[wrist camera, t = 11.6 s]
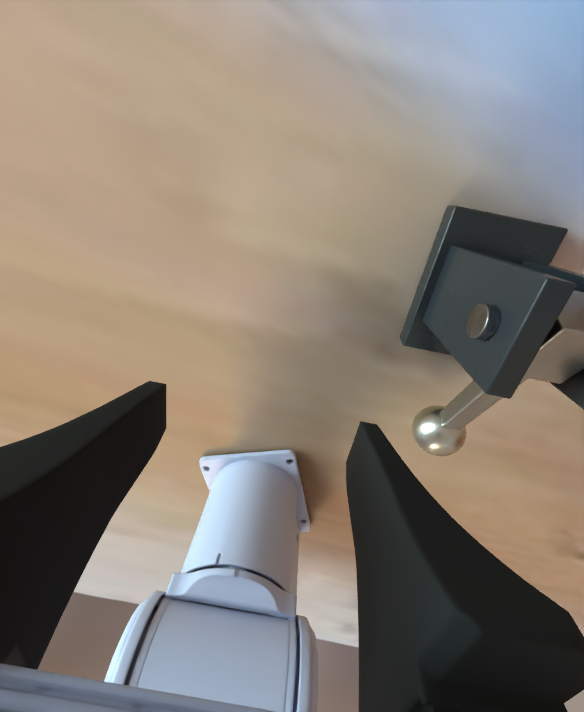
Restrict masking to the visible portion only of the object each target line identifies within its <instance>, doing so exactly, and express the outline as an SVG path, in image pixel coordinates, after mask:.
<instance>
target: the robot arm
mask: <svg viewBox="0 0 584 712" xmlns="http://www.w3.org/2000/svg"><path fill="white" fill-rule="evenodd" d="M165 429H166V384H162V383H157V382H152V381H149V382H147V383H145V384H143V385H141V386H139V387H137V388H135V389H133V390H131V391H129V392H127V393H126V394H124V395H122V396H120V397H118V398H116V399H114V400H112V401H110V402H108V403H107V404H105V405H103V406H101V407H99V408H97V409H95V410H93V411H90V412H88V413H86V414H84V415H82V416H80V417H78V418H76V419H73V420H71V421H69V422H67V423H65V424H62V425H60V426H58V427H55V428H53V429H50V430H48V431H45V432H43V433H40V434H37V435H35V436H32V437H29V438H27V439H24V440H21V441H18V442H15V443H12V444H9V445H5V446H2V447H0V712H317V701H318V652H317V642H316V637H315V634H314V632H313V630H312V628H311V627H310V625H309V622H308V620H307V618H306V617H304V616H299V615H296V602H297V595H296V594H297V575H298V555H299V536H300V533H302V532H309V531H310V530H311V524H310V520H309V515H308V510H307V506H306V501H305V496H304V492H303V487H302V482H301V478H300V473H299V468H298V464H297V459H296V454H295V452H294V451H293V450H290V449H287V450H275V451H263V452H251V453H239V454H227V455H215V456H204V457H202V458H201V459H200V461H199V465H200V468H201V470H202V473H203V475H204V478H205V481H206V483H207V486H208V488H209V491H210V494H209V497H208V499H207V502H206V505H205V508H204V510H203V513H202V516H201V519H200V521H199V524H198V527H197V530H196V532H195V535H194V538H193V541H192V543H191V546H190V549H189V552H188V554H187V557H186V560H185V563H184V565H183V568H182V571H181V573H173V576H172V578H171V581H170V583H169V586H168V589H167V591H166V592H163V591H155V592H153V593H152V594H151V595H150V596H149V597H148V598H147V599H146V600H145V601H143V602H142V603H141V604H140V605H139V606H138V607H137V609H136V610H135V612H134V613H133V615H132V617H131V619H130V620H129V623H128V624H127V626H126V628H125V631H124V633H123V635H122V637H121V639H120V641H119V644H118V646H117V648H116V651H115V653H114V656H113V658H112V661H111V663H110V666H109V669H108V672H107V675H106V678H105V680H104V681H99V680H92V679H87V678H81V677H76V676H70V675H64V674H58V673H53V672H47V671H41V670H37V669H38V667H39V664H40V662H41V660H42V658H43V655H44V653H45V651H46V649H47V646H48V644H49V642H50V640H51V638H52V635H53V634H54V631H55V629H56V627H57V625H58V622H59V620H60V618H61V616H62V614H63V612H64V610H65V608H66V606H67V604H68V602H69V600H70V597H71V595H72V593H73V591H74V589H75V587H76V585H77V583H78V581H79V579H80V577H81V575H82V573H83V571H84V569H85V567H86V565H87V563H88V561H89V559H90V557H91V555H92V553H93V551H94V549H95V548H96V546H97V544H98V542H99V540H100V538H101V536H102V534H103V533H104V531H105V529H106V527H107V525H108V523H109V521H110V520H111V518H112V516H113V515H114V513H115V511H116V510H117V508H118V506H119V505H120V503H121V502H122V500H123V499H124V497H125V496H126V494H127V493H128V491H129V490H130V488H131V487H132V485H133V484H134V482H135V481H136V479H137V478H138V476H139V475H140V473H141V472H142V470H143V469H144V467H145V466H146V464H147V463H148V461H149V460H150V458H151V457H152V455H153V454H154V452H155V450H156V448H157V446H158V444H159V442H160V440H161V438H162V436H163V434H164V432H165ZM289 460H292V461H289ZM206 466H207V467H206ZM346 484H347V496H348V503H349V511H350V518H351V525H352V532H353V539H354V546H355V555H356V567H357V590H358V625H359V712H567V709H566V708H565V705H564V703H565V702H566V701H568V700H569V699H571V698H572V697H574V696H575V695H576V694H578V693H579V692H581V691H582V690H584V637H583V635H582V633H581V632H580V630H579V628H578V627H577V625H576V623H575V622H574V620H573V618H572V617H571V615H570V614H569V612H568V611H566V610H565V609H563V608H562V607H561V606H559V605H558V604H557V603H555V602H554V601H552V600H551V599H550V598H548V597H547V596H545V595H544V594H543V593H541V592H540V591H539V590H537V589H536V588H534V587H533V586H532V585H530V584H529V583H528V582H526V581H525V580H524V579H522V578H521V577H520V576H518V575H517V574H516V573H515V572H513V571H512V570H511V569H510V568H508V567H507V566H506V565H505V564H503V563H502V562H501V561H500V560H498V559H497V558H496V557H495V556H494V555H493V554H491V553H490V552H489V551H488V550H487V549H485V548H484V547H483V546H482V545H481V544H480V543H479V542H478V541H477V540H475V539H474V538H473V537H472V536H471V535H470V534H469V533H468V532H467V531H466V530H464V529H463V528H462V527H461V526H460V525H459V524H458V523H457V522H456V521H455V520H454V519H453V518H452V517H451V516H450V515H449V514H448V513H447V512H446V511H445V510H444V509H443V508H442V507H441V506H440V505H439V503H438V502H437V501H436V500H435V499H434V498H433V497H432V496H431V495H430V494H429V492H428V491H427V490H426V489H425V488H424V487H423V485H422V484H421V483H420V482H419V481H418V479H417V478H416V477H415V476H414V474H413V473H412V472H411V471H410V469H409V468H408V467H407V465H406V464H405V463H404V461H403V460H402V459H401V457H400V456H399V455H398V453H397V452H396V451H395V449H394V448H393V446H392V445H391V444H390V442H389V441H388V439H387V438H386V436H385V435H384V434H383V432H382V431H381V429H380V428H379V427H378V425H377V424H371V423H366V422H360V425H359V427H358V430H357V433H356V436H355V439H354V442H353V444H352V447H351V450H350V453H349V456H348V459H347V462H346Z"/></svg>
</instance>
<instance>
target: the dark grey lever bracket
mask: <svg viewBox="0 0 584 712" xmlns="http://www.w3.org/2000/svg"><path fill="white" fill-rule="evenodd" d="M567 231H568V230H567V229H566V228H561V227H556V226H551V225H546V224H541V223H537V222H532V221H527V220H522V219H517V218H512V217H507V216H502V215H497V214H493V213H488V212H483V211H478V210H473V209H468V208H463V207H458V206H448V207H447V209H446V211H445V214H444V217H443V220H442V222H441V225H440V228H439V231H438V233H437V236H436V239H435V242H434V244H433V247H432V250H431V253H430V256H429V258H428V261H427V264H426V267H425V269H424V272H423V275H422V278H421V280H420V283H419V286H418V289H417V291H416V294H415V297H414V300H413V303H412V305H411V308H410V311H409V314H408V316H407V319H406V322H405V325H404V327H403V330H402V333H401V336H400V340H401V341H402V343H403V345H404V346H409V347H414V348H419V349H425V350H430V351H435V352H440V353H445V354H450V355H453V356H454V358H455V359H456V360H457V361H458V362H459V363H460V365H461V366H462V367H463V368H464V369H465V370H466V371H467V373H468V374H469V375H470V376H471V377H472V378H473V380H474V381H475V382H476V383H477V384H478V385H479V387H480V388H481V389H482V390H483V391H484V392H485V393H486V394H488V395H493V396H499V397H504V398H511V397H512V395H513V394H514V392H515V390H516V389H517V387H518V385H519V384H520V382H521V380H522V378H523V377H524V375H525V373H526V372H527V370H528V368H529V366H530V365H531V363H532V361H533V360H534V358H535V356H536V354H537V353H538V351H539V349H540V348H541V346H542V344H543V342H544V341H545V339H546V337H547V336H548V334H549V332H550V330H551V329H552V327H553V325H554V324H555V322H556V320H557V318H558V317H559V315H560V313H561V312H562V310H563V308H564V306H565V305H566V303H567V301H568V300H569V298H570V296H571V295H572V293H573V291H579V292H584V275H583V274H579V273H576V272H572V271H569V270H565V269H562V268H558V267H555V266H551V265H550V263H551V261H552V259H553V257H554V255H555V253H556V252H557V250H558V248H559V246H560V244H561V242H562V240H563V238H564V236H565V235H566V233H567ZM550 383H551V384H552V385H554V386H555V387H556V388H557V389H559V390H560V391H561V392H562V393H564V394H565V395H566V396H567V397H569V398H570V399H571V400H572V401H574V402H575V403H576V404H577V405H579V406H580V407H581V408H583V409H584V369H582V370H581V371H579V372H578V373H576V374H575V375H573V376H572V377H570V378H569V379H567V380H566V381H564V382H563V383H561V384H557V383H552V382H550Z"/></svg>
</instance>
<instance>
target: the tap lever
mask: <svg viewBox="0 0 584 712" xmlns="http://www.w3.org/2000/svg"><path fill="white" fill-rule="evenodd" d="M582 369H584V292H579V291H573V293H572V295H571V296H570V298H569V300H568V301H567V303H566V305H565V306H564V308H563V310H562V312H561V313H560V315H559V317H558V318H557V320H556V322H555V324H554V325H553V327H552V329H551V330H550V332H549V334H548V336H547V337H546V339H545V341H544V342H543V344H542V346H541V348H540V349H539V351H538V353H537V354H536V356H535V358H534V360H533V361H532V363H531V365H530V366H529V368H528V370H527V372H526V373H525V375H524V377H523V378H522V380H521V382H520V384H521V383H522V382H523V381H525V380H526V379H527V378H532V379H537V380H542V381H547V382H552V383H557V384H561V383H563V382H564V381H566V380H567V379H569V378H570V377H572V376H573V375H575V374H576V373H578V372H579V371H581V370H582ZM520 384H519V385H520ZM501 398H503V397H499V396H493V395H488V394H486V393H485V392H484V391H483V390H482V389H481V388H480V387H479V385H478V384H477V383H476V382H475V381H472V382H471V383H470V384H469V385H468V386H467V387H466V388H465V389H464V390H463V391H462V392H461V393H460V394H458V395H457V396H456V397H455V398H454V399H453V400H452V401H451V402H450V403H449V404H448V405H447V406H446V407H443V406H430V407H427V408H425V409H423V410H421V411H420V412H419V413H418V414H417V415H416V417H415V419H414V421H413V425H412V432H413V436H414V439H415V441H416V442H417V444H418V445H419V446H420V447H421V448H422V449H423V450H424V451H426V452H427V453H430V454H432V455H436V456H447V455H451V454H453V453H455V452H457V451H458V450H459V449H460V448H461V447H462V445H463V444H464V442H465V438H466V428H465V426H466V425H467V424H469V423H470V422H471V421H472V420H474V419H475V418H476V417H478V416H479V415H480V414H482V413H483V412H484V411H486V410H487V409H488V408H489V407H491V406H492V405H493V404H495V403H496V402H497V401H499V400H500V399H501Z"/></svg>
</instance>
